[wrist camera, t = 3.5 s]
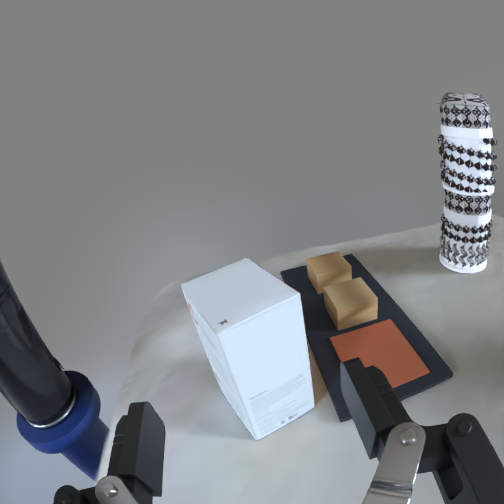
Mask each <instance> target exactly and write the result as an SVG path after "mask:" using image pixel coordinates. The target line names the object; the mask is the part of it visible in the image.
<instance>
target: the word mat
mask: <svg viewBox="0 0 504 504" xmlns="http://www.w3.org/2000/svg"><path fill="white" fill-rule="evenodd" d="M343 257H344V258H345V260H346V261H347V262H348V263H349V264H350V265H351V271H352V279H356V278H359V277H361V278H362V280H363V281H364V282H365V283H366V284H367V286H368V287H369V288H370V289H371V290H372V292H373V293H374V294H375V295H376V296H377V298H378V310H377V319H374V320H371V321H368V322H365V323H362V324H359V325H355V326H352V327H349V328H346V329H342V330H339V331H338V330H337V328H336V326H335V324H334V322H333V320H332V319H331V317H330V315H329V313H328V311H327V310H326V308H325V301H324V293H321V294H318V293H317V291H316V290H315V288H314V286H313V284H312V282H311V281H310V279H309V277H308V271H307V265H306V266H302V267H297V268H293V269H289V270H285V271H281V275H282V278H283V280H284V282H285V284H287V285H288V286H290V287H291V288H293V289H294V290H296V291H297V292H299V293H300V295H301V303H302V310H303V317H304V324H305V331H306V336H307V338H308V341H309V343H310V346H311V348H312V351H313V353H314V356H315V358H316V361H317V363H318V366H319V368H320V371H321V373H322V376H323V378H324V381H325V383H326V386H327V388H328V391H329V393H330V396H331V399H332V401H333V404H334V406H335V409H336V411H337V414H338V416H339V419H340V422H343V421H346V420H349V419H352V416H351V414H350V411H349V409H348V407H347V404H346V402H345V400H344V397H343V394H342V390H341V370H340V364H341V362H344V361H347V360H350V359H353V358H356V357H359V358H360V359H361V361H362V363H363V365H364V367H365V368H366V367H369V366H372V365H374V366H376V367H377V368H378V369H380V370H381V371H383V373H384V374H385V376H386V378H387V379H388V381H389V383H390V384H391V386H392V388H393V391H395V393H396V395H397V396H398V398H399V400H400V401H401V400H403V399H406V398H408V397H410V396H413V395H415V394H417V393H419V392H422V391H424V390H426V389H428V388H430V387H432V386H434V385H437V384H439V383H441V382H443V381H445V380H447V379H449V378H451V377H452V376H453V372H452V371H451V370H450V369H449V367H448V366H447V365H446V363H445V362H444V361H443V360H442V358H441V357H440V356H439V355H438V353H437V352H436V351H435V349H434V348H433V347H432V346H431V344H430V343H429V342H428V341H427V340H426V338H425V337H424V336H423V335H422V333H421V332H420V331H419V330H418V329H417V327H416V326H415V325H414V324H413V323H412V321H411V320H410V319H409V318H408V317H407V315H406V314H405V313H404V312H403V311H402V310H401V308H400V307H399V306H398V305H397V304H396V303H395V301H394V300H393V299H392V298H391V297H390V296H389V295H388V293H387V292H386V291H385V290H384V289H383V288H382V287H381V286H380V284H379V283H378V282H377V281H376V280H375V279H374V278H373V277H372V275H371V274H370V273H369V272H368V271H367V270H366V269H365V268H364V267H363V266H362V264H361V263H360V262H359V261H358V260H357V259H356V258H355V257H354V256H353V255H352V254H350V255H346V256H343Z"/></svg>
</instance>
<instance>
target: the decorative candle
mask: <svg viewBox="0 0 504 504" xmlns="http://www.w3.org/2000/svg"><path fill="white" fill-rule="evenodd" d="M439 104H440V113H441V122H442V124H441V135H440V136H439V137H438V143H439V144H441V145H442V146H441V147H440V148H439V153H440V154H441V156H442V157H443V160H442V161H441V162H440V164H441V165H440V166H441V168H442V169H443V171H442V172H441V178H442V179H443V181H442V186H443V188H445V203H444V206H443V207H444V208H443V214H442V217H441V220H442V221H443V223H442V226H441V230H442V234H441V236H440V242H441V245H440V247H439V249H440V252H441V253H440V254H439V258H440V262H441V263H442V264H443V265H444V266H445V267H447V268H449V269H450V270H452V271H456V272H460V273H475V272H479V271H481V270H483V269H484V268H485V267H486V263H487V259H486V257H488V254H487V253H488V248H489V247H490V245H489V243H490V241H489V237H490V236H491V230H490V228H491V227H492V220H491V210H492V209H491V194H492V193H493V192H494V186H493V184H495V182H496V180H495V179H494V178H493V177H491V171H494V170H496V169H497V167H496V165H495V164H494V163H491V161H492V160H494V159H496V158H497V155H496V154H495V153H494V152H492V151H491V146H494V145H496V144H497V140H496V139H495V138H493V137H492V128H491V123H490V111H489V105H488V104H487V103H486V101H485V99H484V98H483V97H482V96H481V95H479V94H468V93H446V94H445V95H444V96H443V98H442V101H441V102H440V103H439ZM443 140H444V141H443Z"/></svg>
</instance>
